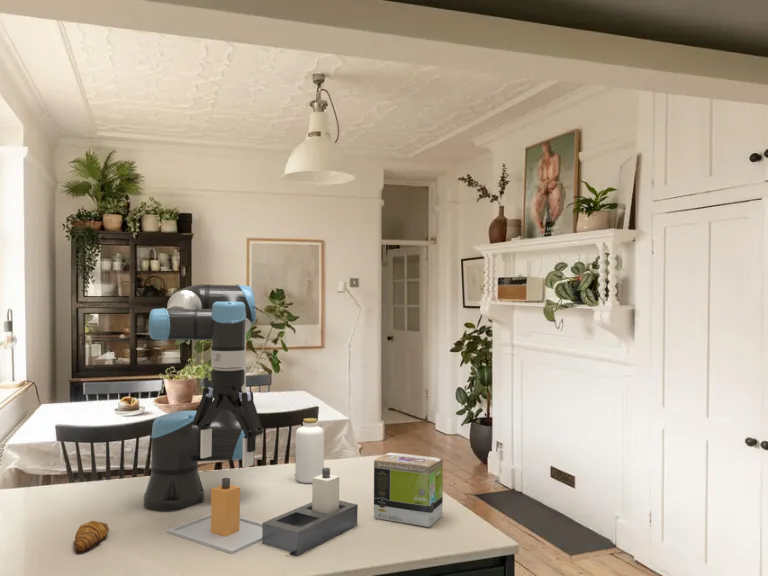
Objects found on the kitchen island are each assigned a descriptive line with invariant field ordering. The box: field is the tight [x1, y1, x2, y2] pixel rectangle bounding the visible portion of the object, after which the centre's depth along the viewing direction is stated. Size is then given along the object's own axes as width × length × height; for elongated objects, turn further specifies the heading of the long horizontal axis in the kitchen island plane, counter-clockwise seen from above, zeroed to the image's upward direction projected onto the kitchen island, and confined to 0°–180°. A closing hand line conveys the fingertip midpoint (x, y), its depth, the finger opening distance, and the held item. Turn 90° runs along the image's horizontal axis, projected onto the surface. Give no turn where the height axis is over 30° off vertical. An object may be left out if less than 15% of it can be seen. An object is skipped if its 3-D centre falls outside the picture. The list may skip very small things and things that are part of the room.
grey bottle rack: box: [261, 499, 359, 557], centre depth 147 cm, size 10×22×5 cm, turn 147°
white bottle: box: [294, 417, 325, 484], centre depth 190 cm, size 8×8×18 cm
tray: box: [165, 513, 264, 555], centre depth 147 cm, size 21×16×1 cm
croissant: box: [73, 520, 110, 554], centre depth 142 cm, size 14×7×5 cm, turn 3°
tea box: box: [373, 451, 444, 528], centre depth 160 cm, size 15×10×15 cm, turn 65°
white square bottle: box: [311, 467, 340, 514], centre depth 152 cm, size 4×4×12 cm
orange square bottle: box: [210, 477, 241, 537], centre depth 147 cm, size 4×4×12 cm
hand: (226, 461), depth 147 cm, fingers open, 13 cm apart
